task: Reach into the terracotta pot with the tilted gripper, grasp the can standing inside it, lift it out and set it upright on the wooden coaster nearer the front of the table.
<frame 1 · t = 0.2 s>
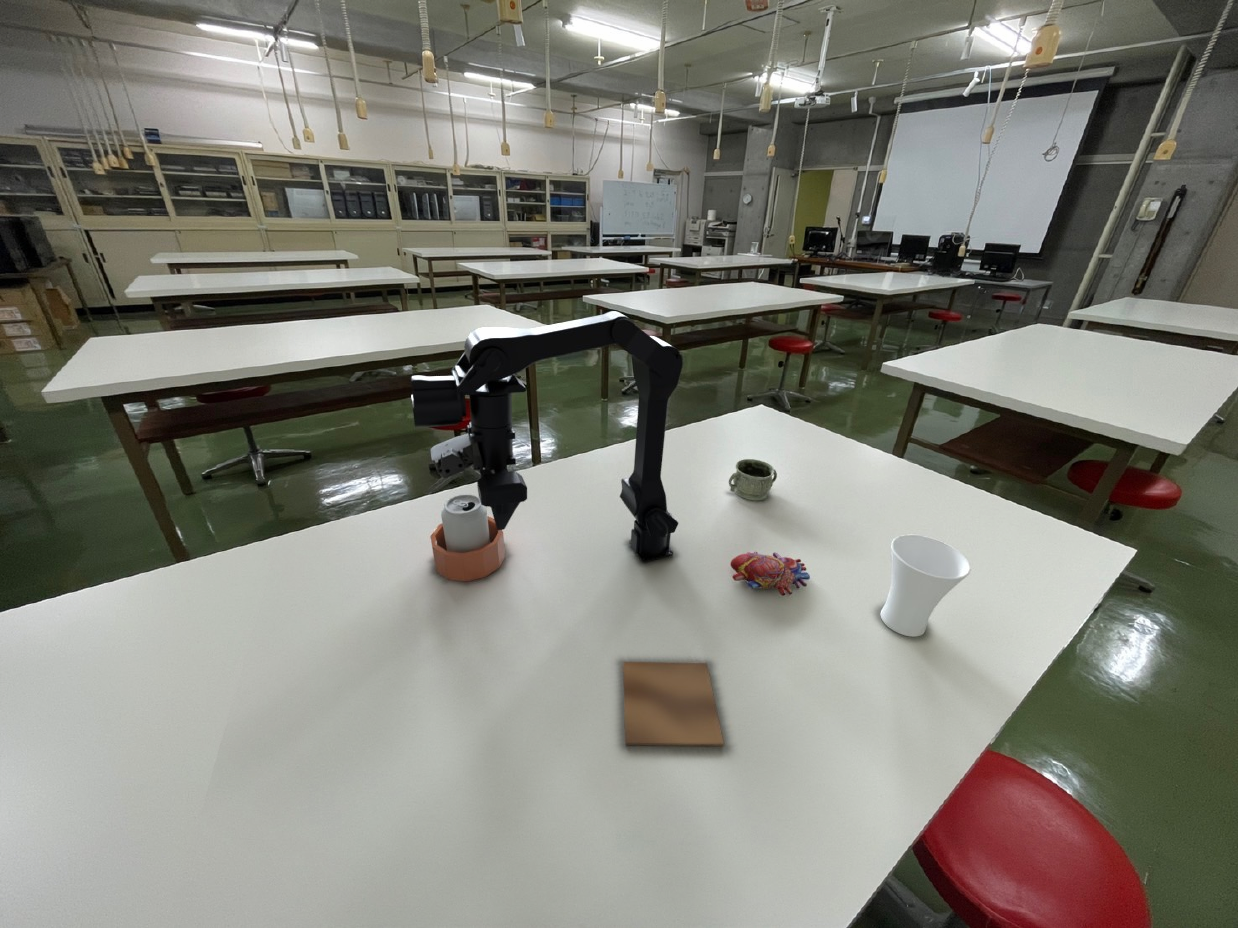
hand: (495, 513, 78), 14 cm above the table, tool pointing down, fingers open, 9 cm apart
vessel: (750, 492, 114), on the table
can: (470, 559, 90), resting in pot
cup: (901, 622, 80), on the table
anatomical model: (768, 580, 88), on the table
pot: (470, 558, 90), on the table
wooden coaster: (669, 701, 66), on the table
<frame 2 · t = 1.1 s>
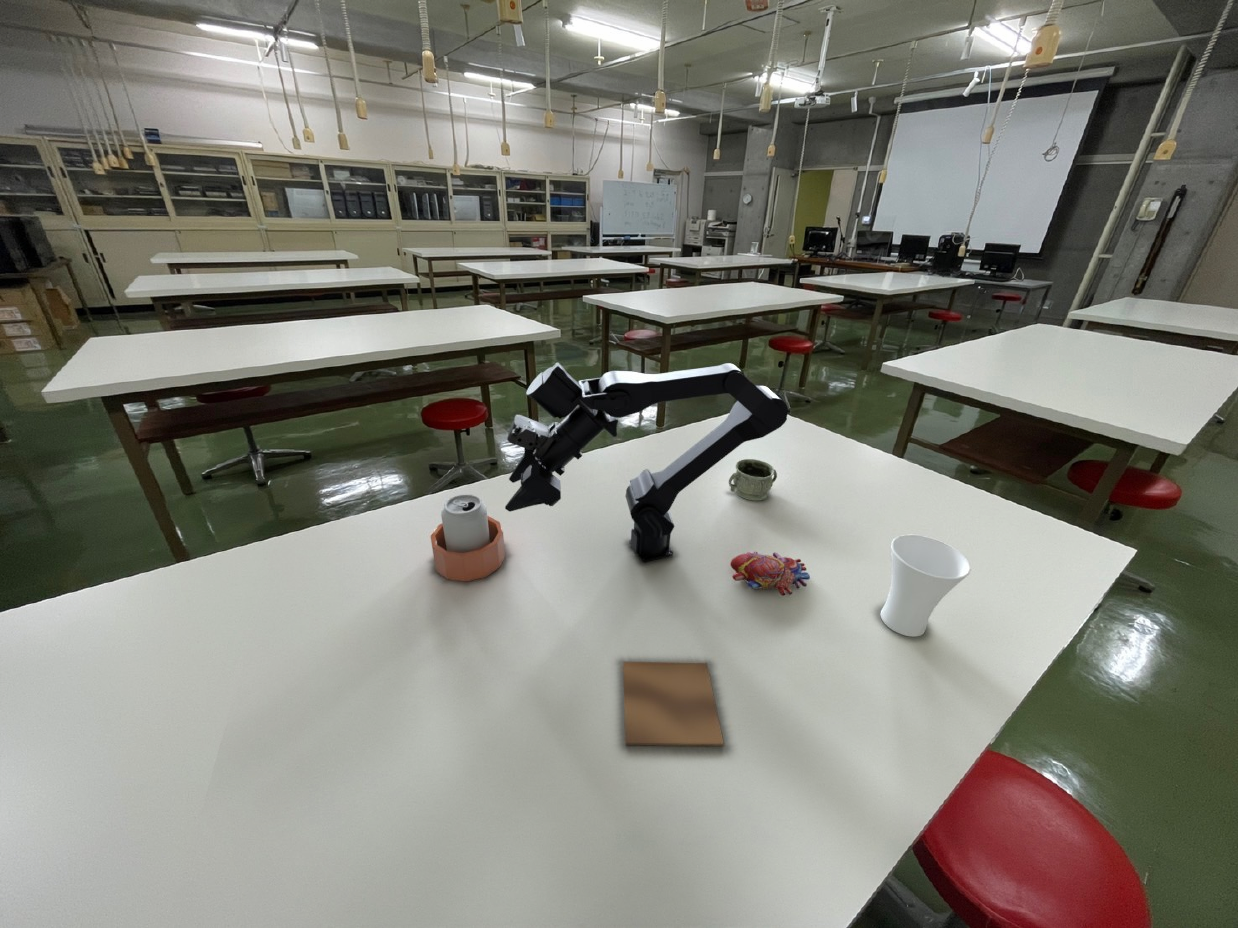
hand: (509, 494, 85), 13 cm above the table, tool tilted 45°, fingers open, 9 cm apart
nothing on the table moved.
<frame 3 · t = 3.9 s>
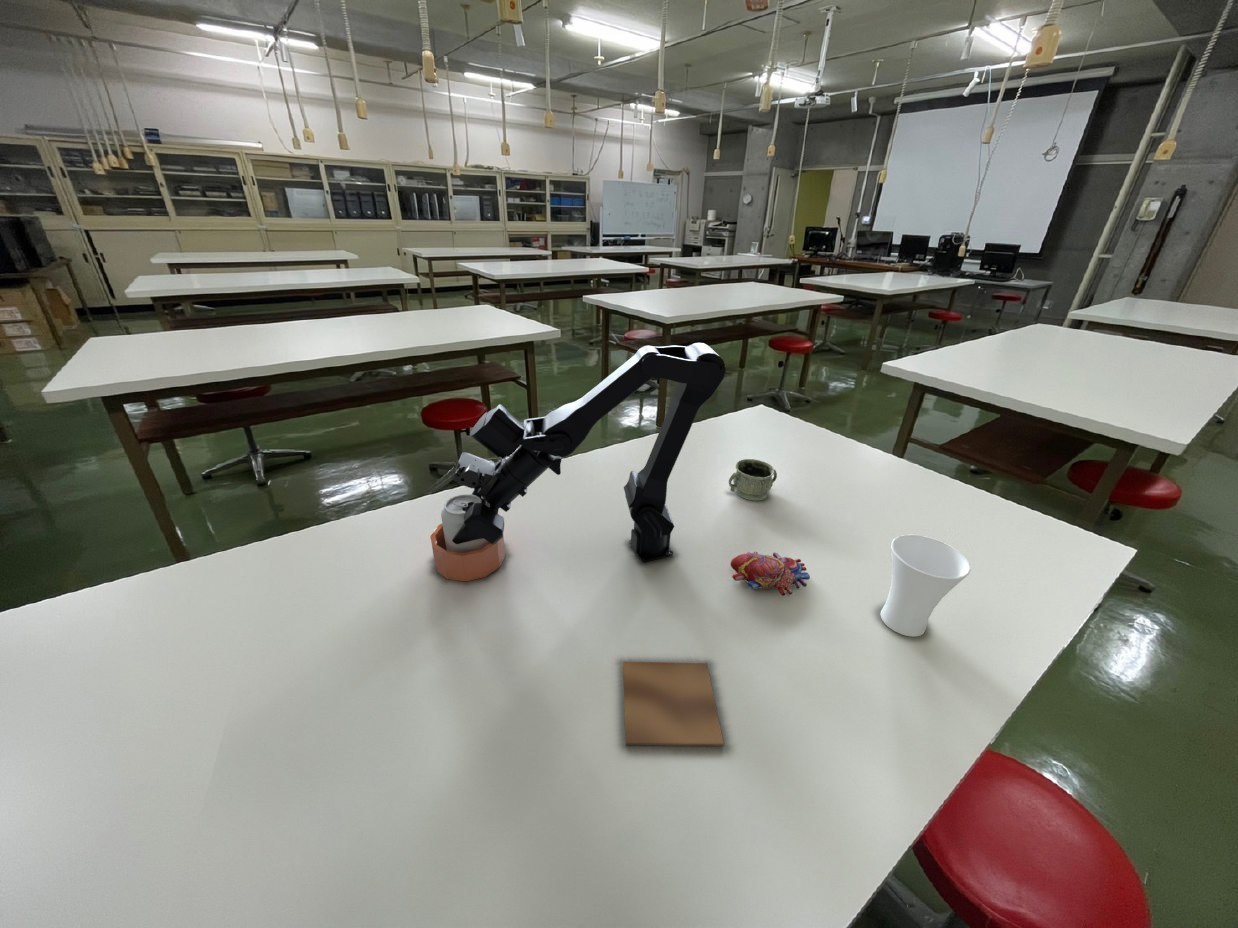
hand: (458, 528, 87), 7 cm above the table, tool tilted 45°, fingers closed on can, 7 cm apart
can: (470, 559, 90), resting in pot, touching gripper
everything else where it was.
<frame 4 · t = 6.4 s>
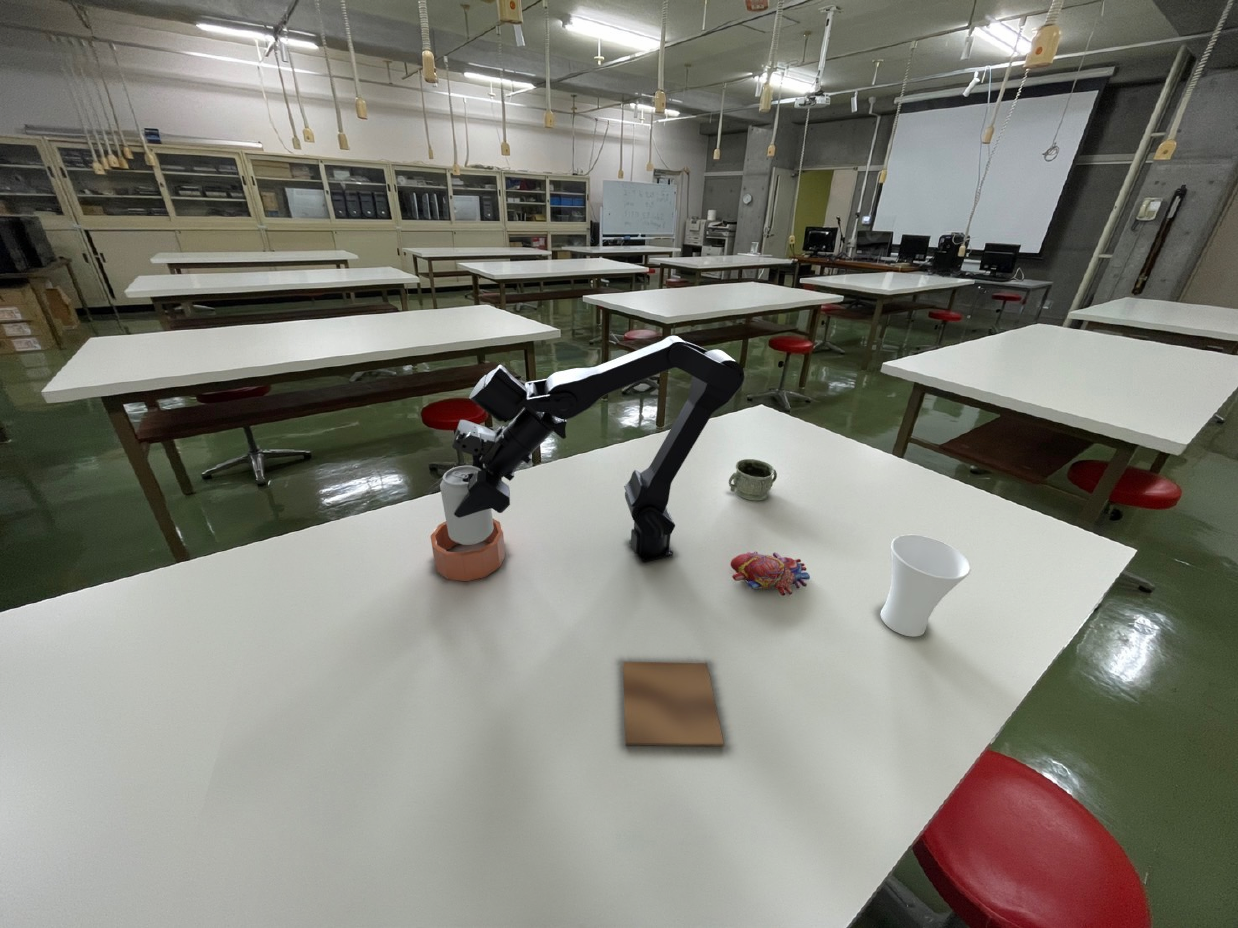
hand: (458, 502, 82), 13 cm above the table, tool tilted 45°, fingers closed on can, 7 cm apart
can: (471, 535, 86), point 6 cm above the table, touching gripper
everything else where it was.
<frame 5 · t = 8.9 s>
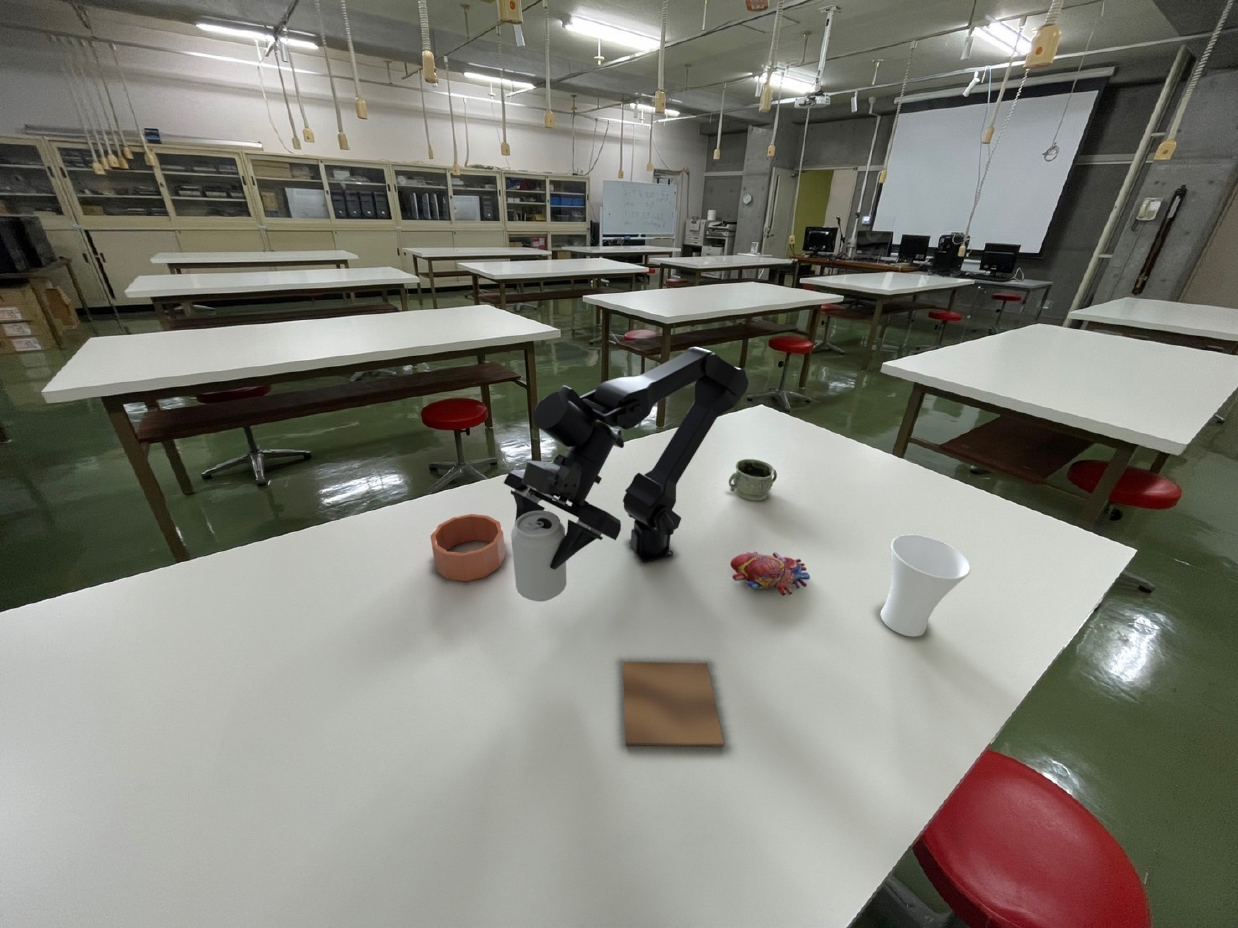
hand: (532, 556, 70), 13 cm above the table, tool tilted 45°, fingers closed on can, 7 cm apart
can: (541, 588, 75), point 7 cm above the table, touching gripper
everything else where it was.
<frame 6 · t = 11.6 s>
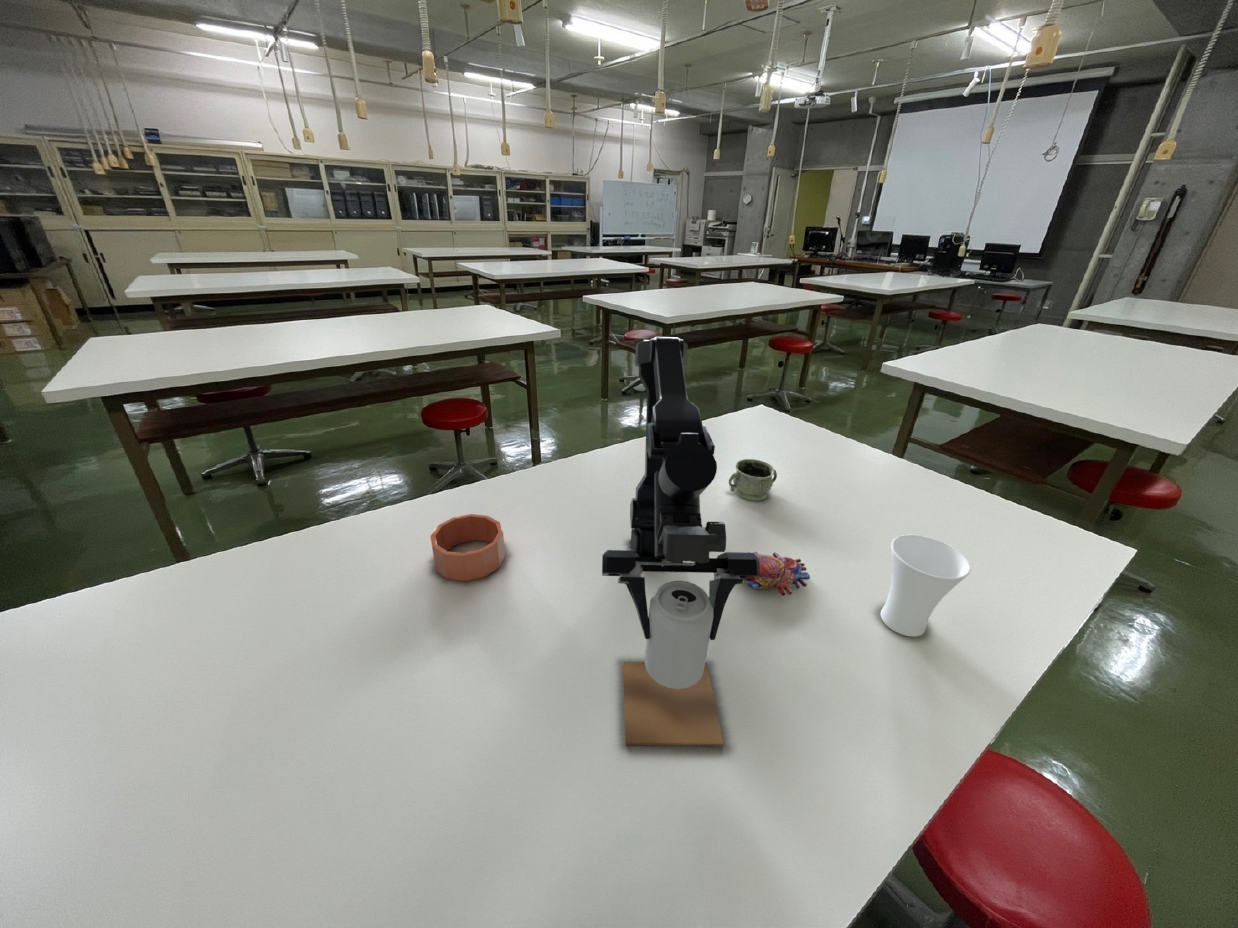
hand: (679, 639, 59), 13 cm above the table, tool tilted 45°, fingers closed on can, 7 cm apart
can: (673, 668, 63), point 6 cm above the table, touching gripper
everything else where it was.
when the fingers open (7 cm above the table, at t = 13.9 s): can stays where it is, resting on wooden coaster.
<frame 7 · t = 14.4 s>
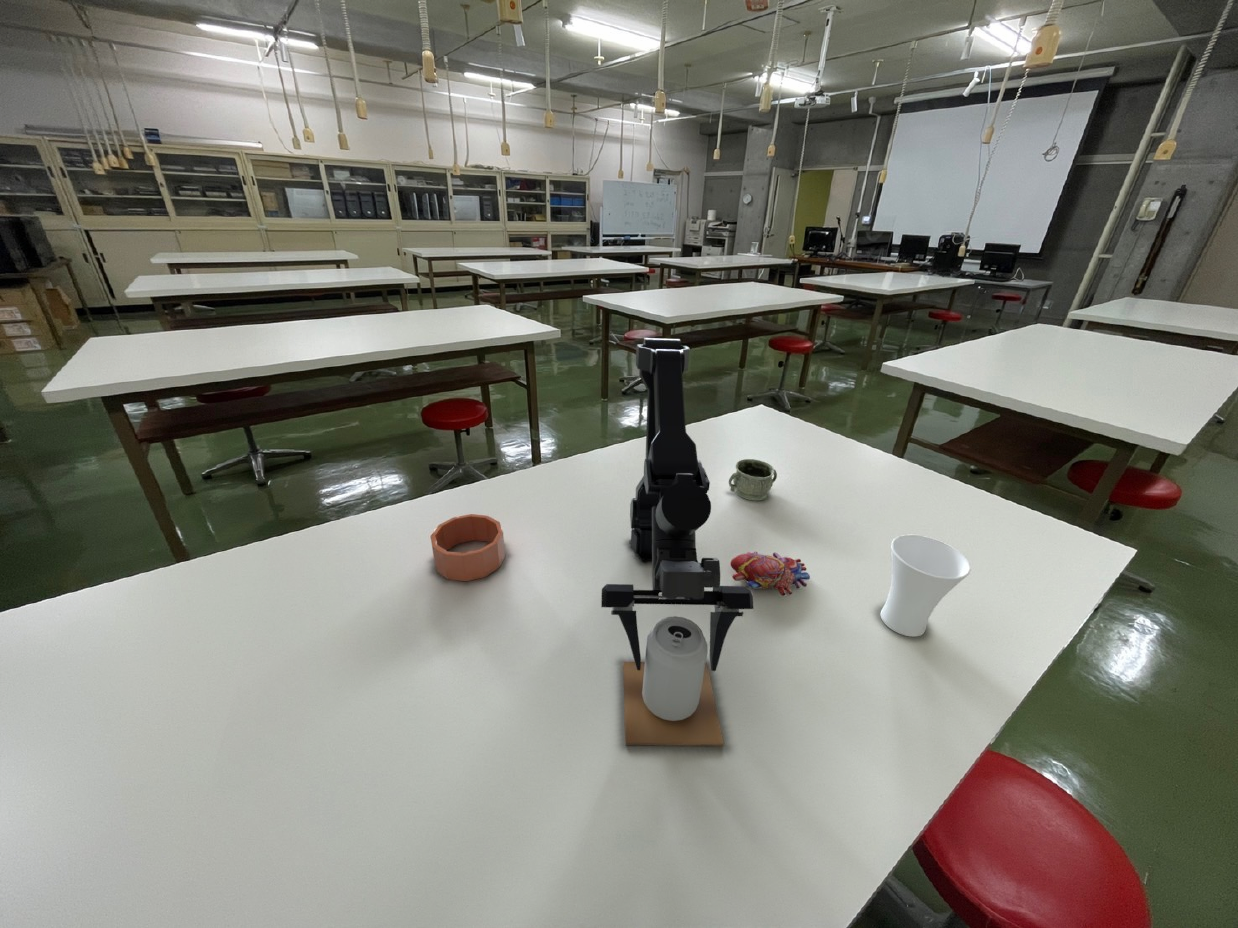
hand: (676, 670, 61), 8 cm above the table, tool tilted 45°, fingers open, 9 cm apart
can: (669, 699, 66), resting on wooden coaster
everything else where it was.
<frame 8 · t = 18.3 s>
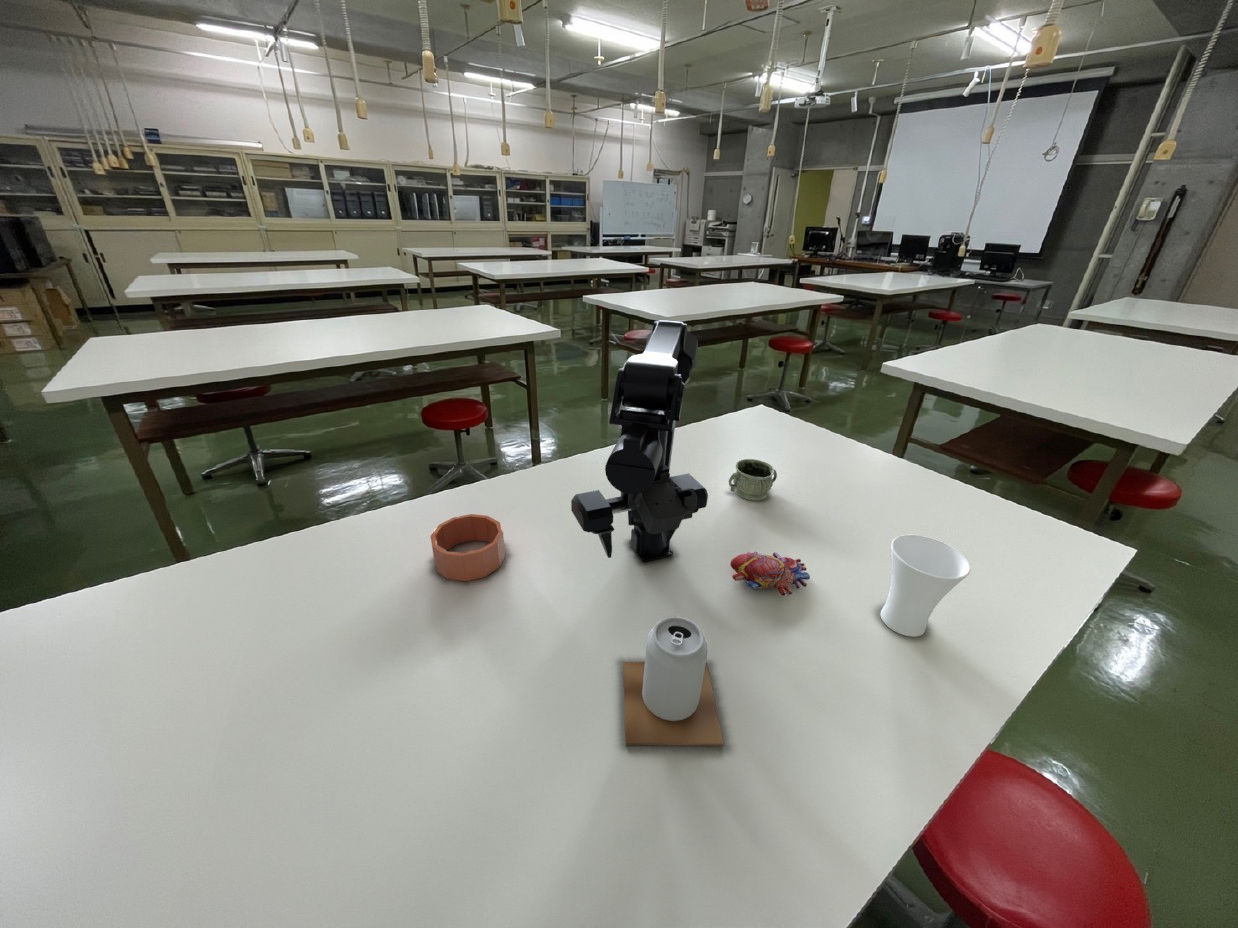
hand: (637, 549, 73), 13 cm above the table, tool pointing down, fingers open, 9 cm apart
nothing on the table moved.
at the end: can inside the target area on the wooden coaster (0.1 cm from its centre), point 0.2 cm above the wooden coaster's base; can tilted 0°; can touching wooden coaster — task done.
